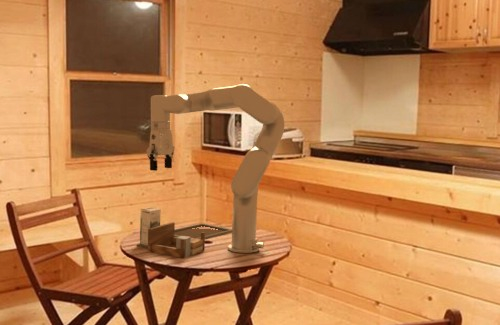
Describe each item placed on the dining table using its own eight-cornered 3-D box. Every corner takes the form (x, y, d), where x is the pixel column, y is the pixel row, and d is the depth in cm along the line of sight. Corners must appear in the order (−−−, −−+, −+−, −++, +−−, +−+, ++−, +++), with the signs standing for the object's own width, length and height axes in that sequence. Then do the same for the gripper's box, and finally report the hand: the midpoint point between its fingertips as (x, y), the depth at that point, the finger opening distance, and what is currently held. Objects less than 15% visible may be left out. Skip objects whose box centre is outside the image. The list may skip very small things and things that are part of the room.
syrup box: (150, 241, 238) (150, 206, 236) (160, 244, 234) (160, 208, 233) (139, 243, 233) (140, 208, 232) (149, 246, 230) (150, 210, 228)
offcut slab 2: (202, 252, 228) (202, 246, 227) (192, 255, 222) (193, 249, 222) (192, 250, 230) (192, 244, 230) (182, 253, 224) (182, 247, 224)
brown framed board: (160, 232, 253) (206, 222, 276) (160, 236, 253) (206, 225, 277) (192, 240, 241) (237, 228, 265) (192, 243, 241) (237, 232, 265)
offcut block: (190, 254, 222) (190, 236, 221) (185, 257, 218) (185, 239, 218) (181, 253, 223) (181, 235, 223) (176, 255, 220) (176, 237, 219)
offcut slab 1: (202, 245, 228) (202, 239, 227) (193, 249, 222) (193, 243, 222) (191, 244, 230) (192, 237, 230) (182, 247, 224) (182, 241, 224)
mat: (161, 245, 235) (161, 243, 235) (150, 248, 229) (150, 247, 229) (147, 242, 238) (147, 241, 238) (136, 246, 232) (136, 244, 232)
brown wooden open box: (205, 249, 230) (206, 227, 229) (182, 258, 216) (183, 234, 215) (171, 243, 238) (172, 222, 237) (147, 251, 224) (148, 228, 223)
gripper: (155, 127, 221) (155, 172, 223) (180, 125, 236) (181, 167, 238) (139, 126, 225) (140, 170, 226) (165, 125, 240) (166, 166, 242)
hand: (161, 169), depth 232 cm, fingers open, 9 cm apart
